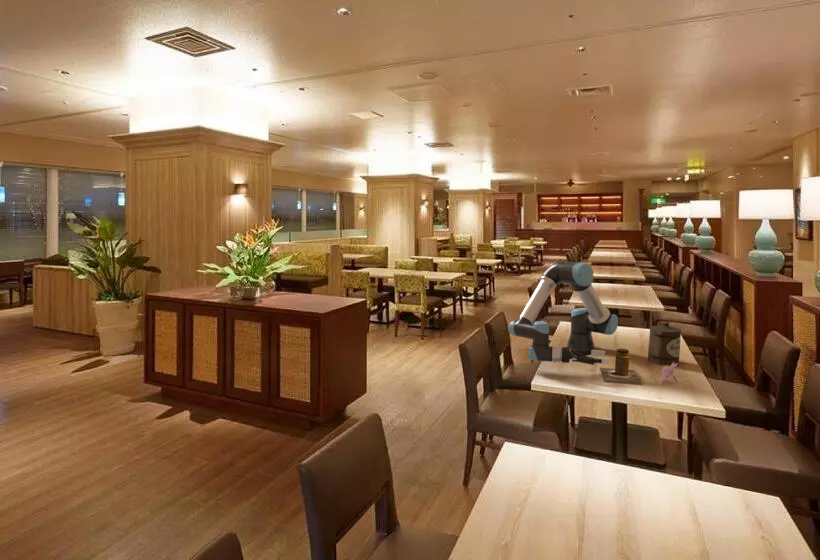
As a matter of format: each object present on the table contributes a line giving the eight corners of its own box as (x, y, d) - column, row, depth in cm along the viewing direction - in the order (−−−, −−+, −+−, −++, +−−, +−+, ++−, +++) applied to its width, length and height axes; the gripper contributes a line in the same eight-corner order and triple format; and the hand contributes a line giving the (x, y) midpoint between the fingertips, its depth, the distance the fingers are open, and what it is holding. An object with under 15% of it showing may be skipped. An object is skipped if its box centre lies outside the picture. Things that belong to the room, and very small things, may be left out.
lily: (665, 378, 250) (656, 361, 249) (690, 374, 241) (680, 356, 241) (659, 392, 241) (649, 374, 241) (684, 388, 233) (674, 370, 232)
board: (599, 369, 261) (599, 366, 261) (633, 371, 257) (634, 369, 257) (604, 382, 242) (604, 379, 241) (641, 384, 238) (641, 381, 238)
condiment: (632, 374, 248) (633, 350, 246) (621, 377, 243) (622, 352, 242) (619, 371, 254) (620, 347, 252) (608, 373, 249) (609, 349, 248)
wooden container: (674, 367, 264) (677, 325, 261) (644, 362, 273) (646, 321, 270) (682, 361, 275) (684, 320, 272) (652, 356, 284) (654, 317, 282)
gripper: (559, 355, 267) (603, 357, 262) (562, 369, 243) (610, 372, 238) (560, 341, 266) (603, 343, 261) (562, 353, 242) (611, 356, 237)
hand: (607, 357), depth 249 cm, fingers open, 13 cm apart
